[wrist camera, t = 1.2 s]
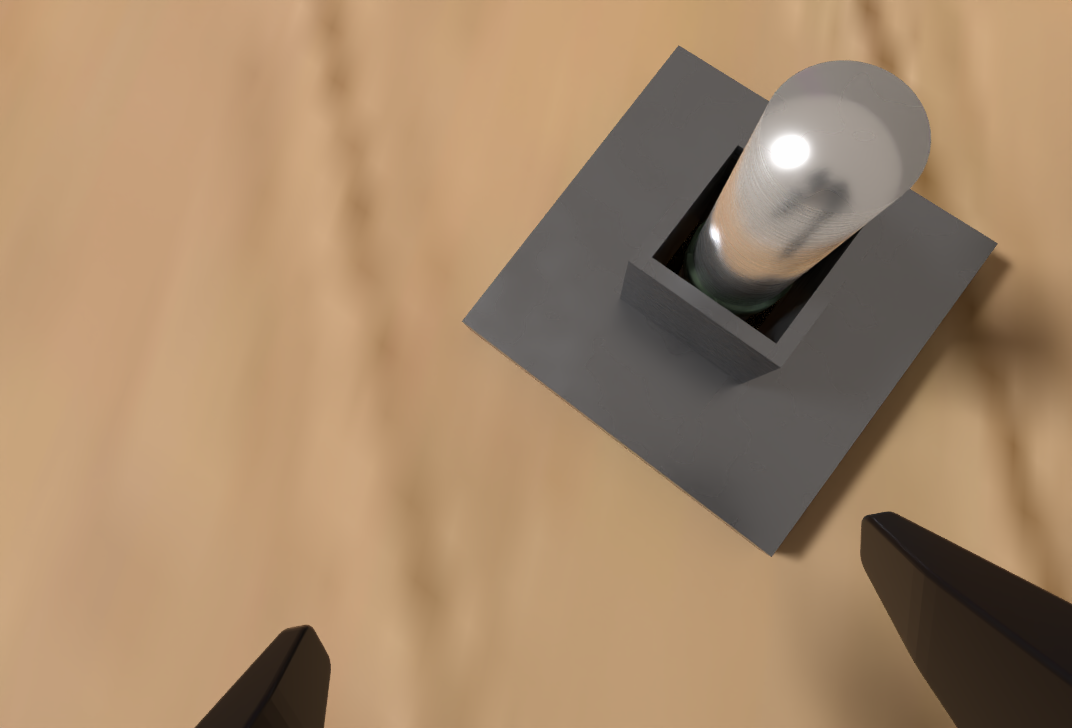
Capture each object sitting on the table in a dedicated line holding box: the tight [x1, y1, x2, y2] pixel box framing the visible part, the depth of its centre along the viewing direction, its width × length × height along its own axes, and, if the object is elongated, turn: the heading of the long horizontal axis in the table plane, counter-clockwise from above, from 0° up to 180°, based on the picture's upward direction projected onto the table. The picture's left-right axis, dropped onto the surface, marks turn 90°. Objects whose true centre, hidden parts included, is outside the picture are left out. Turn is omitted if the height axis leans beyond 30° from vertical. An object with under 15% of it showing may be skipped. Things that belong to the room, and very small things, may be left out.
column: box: [678, 61, 931, 321], centre depth 17 cm, size 4×4×12 cm
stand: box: [462, 46, 998, 557], centre depth 20 cm, size 14×14×6 cm
